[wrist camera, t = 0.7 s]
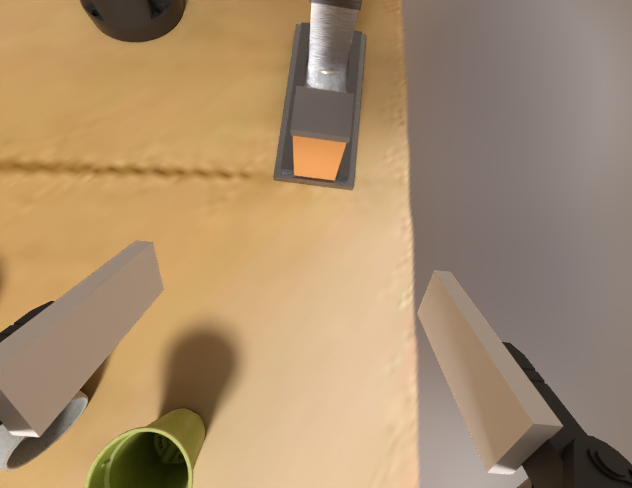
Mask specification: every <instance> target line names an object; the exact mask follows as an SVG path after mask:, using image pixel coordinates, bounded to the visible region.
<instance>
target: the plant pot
mask: <svg viewBox="0 0 632 488" xmlns="http://www.w3.org/2000/svg"><path fill="white" fill-rule="evenodd" d="M158 437H161V442H162V446H163V448H160V446H159V443H158ZM204 438H205V427H204V423H203V421H202V419H201V417H200V416H199V415H198V414H196V413H194V412H192V411H190V410H189V409H185V408H180V409H175V410H172V411H170V412H169V413H167V414H165V415H164V416H162V417H161V418H159V419H157V420H156V421H154V422H152V423H151V424H149V425H148V426H146V427H139V428H135V429H132V430H129V431H127V432H125V433H123V434H121V435H119V436H118V437H116V438H115V439H114V440H112V441H111V442H110V443H109V444H108V445H106V446H105V447H104V448H103V450H102V451H101V452H100V453H99V454H98V456H97V457H96V459H95V460H94V462H93V464H92V466H91V468H90V470H89V473H88V476H87V480H86V483H85V488H192V485H193V469H194V466H195V463H196V461H197V458H198V456H199V453H200V450H201V448H202V445H203V442H204ZM179 455H183V456H184V458H178V456H179Z"/></svg>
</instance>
